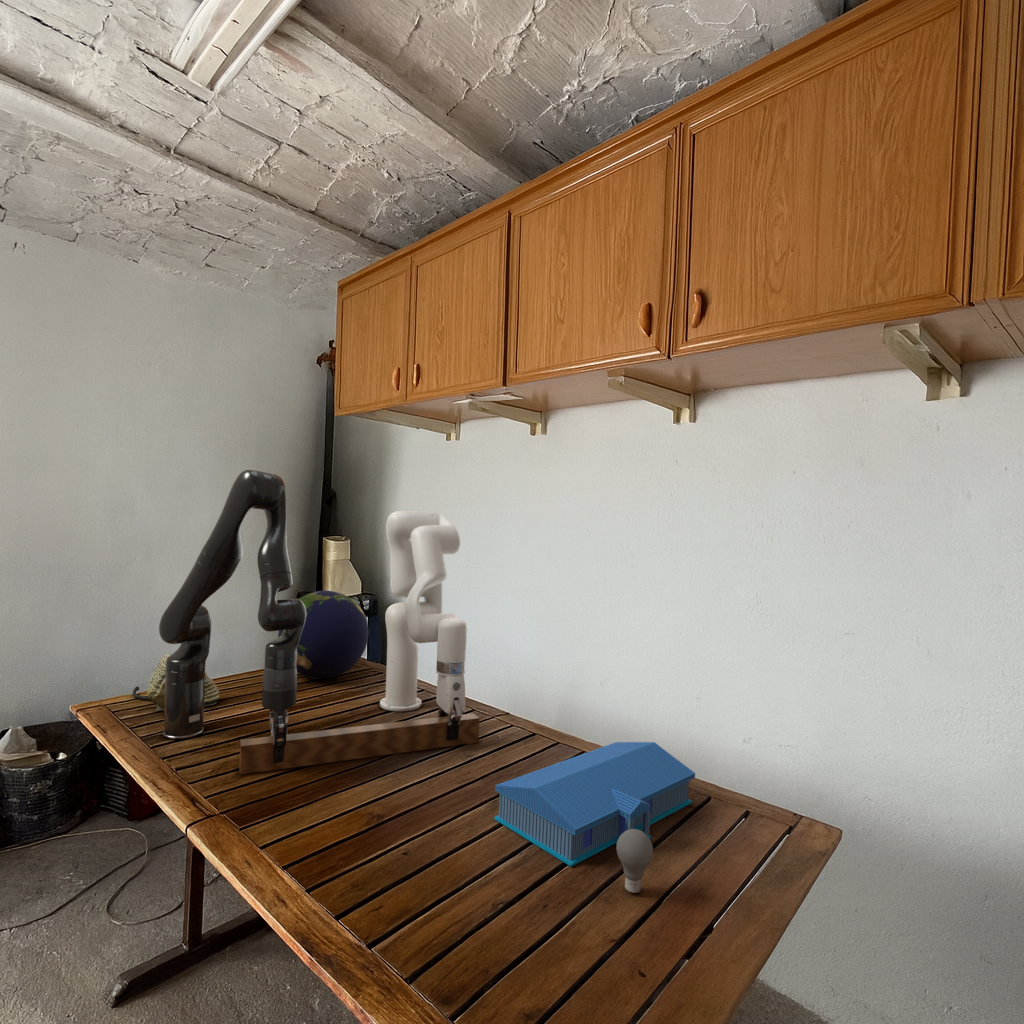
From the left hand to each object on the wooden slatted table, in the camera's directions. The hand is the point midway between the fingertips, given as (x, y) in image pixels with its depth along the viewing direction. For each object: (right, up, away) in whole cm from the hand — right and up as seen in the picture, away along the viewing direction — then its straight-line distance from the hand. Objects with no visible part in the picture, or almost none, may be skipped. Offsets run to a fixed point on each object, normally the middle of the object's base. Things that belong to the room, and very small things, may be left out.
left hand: (277, 757), depth 148 cm
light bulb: (+75, -6, -42) cm, 86 cm away
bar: (+19, -3, +9) cm, 21 cm away
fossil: (-41, +1, +37) cm, 56 cm away
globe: (-11, 0, +72) cm, 73 cm away
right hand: (+38, -1, +18) cm, 42 cm away
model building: (+74, -6, -16) cm, 76 cm away
